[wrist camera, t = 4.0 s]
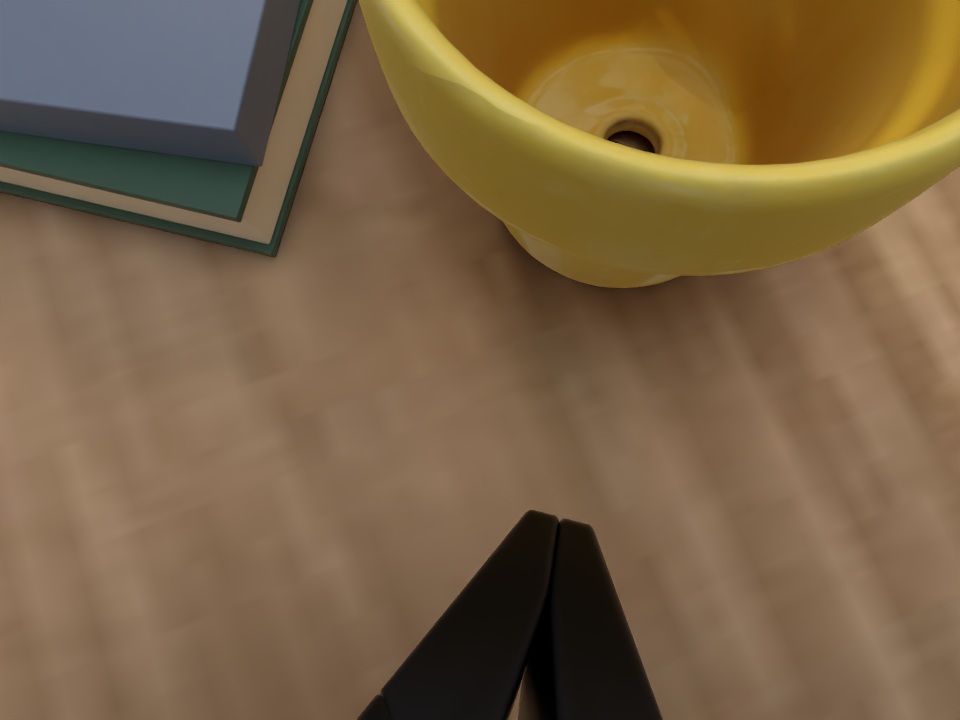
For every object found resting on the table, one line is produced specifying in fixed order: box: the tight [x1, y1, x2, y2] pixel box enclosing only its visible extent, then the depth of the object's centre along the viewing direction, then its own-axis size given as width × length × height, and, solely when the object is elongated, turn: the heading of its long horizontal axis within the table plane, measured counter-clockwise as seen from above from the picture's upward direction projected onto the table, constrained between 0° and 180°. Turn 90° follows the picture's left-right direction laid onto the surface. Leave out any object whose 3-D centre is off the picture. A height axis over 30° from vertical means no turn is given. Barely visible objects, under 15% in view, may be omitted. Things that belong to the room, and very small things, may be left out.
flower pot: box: [359, 0, 960, 288], centre depth 14 cm, size 10×10×10 cm
